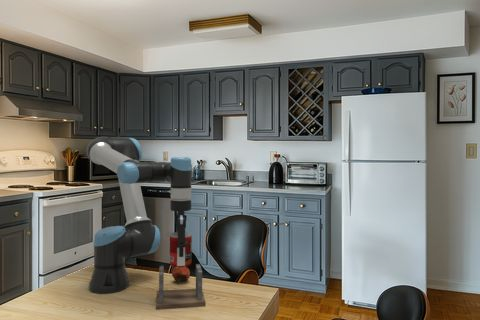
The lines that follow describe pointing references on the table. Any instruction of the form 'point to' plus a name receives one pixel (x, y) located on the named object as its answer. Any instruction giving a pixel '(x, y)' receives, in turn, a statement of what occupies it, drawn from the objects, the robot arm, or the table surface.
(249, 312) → the table surface
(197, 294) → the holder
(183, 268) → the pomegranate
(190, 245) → the canned food
